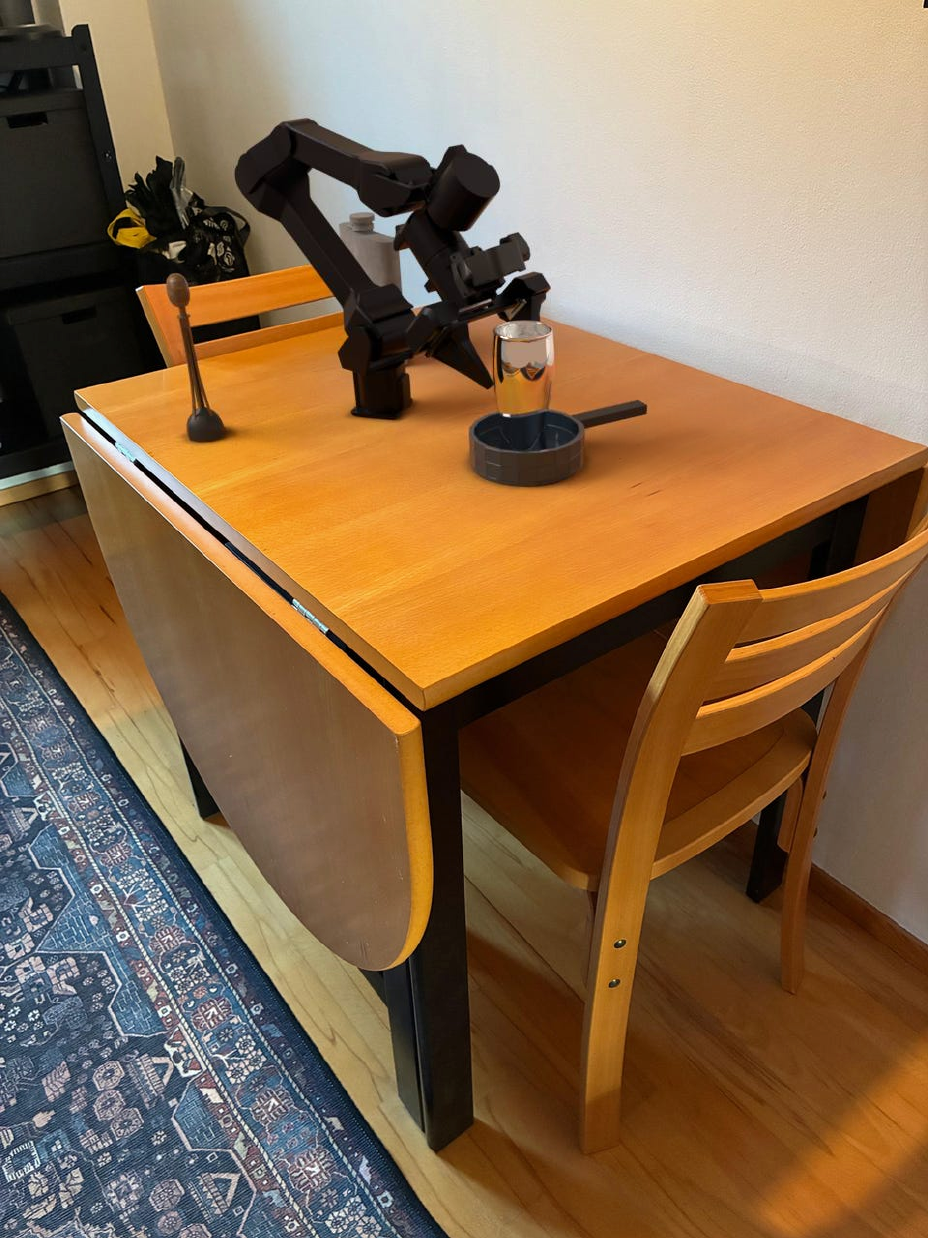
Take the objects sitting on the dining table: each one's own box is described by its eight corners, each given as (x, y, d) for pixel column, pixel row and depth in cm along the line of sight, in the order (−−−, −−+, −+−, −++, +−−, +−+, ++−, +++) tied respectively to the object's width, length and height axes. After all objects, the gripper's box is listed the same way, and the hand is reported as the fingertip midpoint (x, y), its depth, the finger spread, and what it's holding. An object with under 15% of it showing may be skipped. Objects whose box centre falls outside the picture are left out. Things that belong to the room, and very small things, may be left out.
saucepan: (454, 478, 110) (453, 446, 108) (489, 433, 121) (489, 403, 118) (567, 492, 106) (568, 458, 104) (594, 444, 117) (595, 412, 114)
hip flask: (411, 364, 143) (401, 220, 132) (386, 369, 141) (373, 224, 130) (366, 336, 155) (353, 202, 143) (342, 341, 153) (328, 206, 142)
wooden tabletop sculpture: (183, 428, 126) (150, 269, 115) (219, 421, 127) (189, 264, 116) (192, 444, 121) (158, 280, 110) (228, 437, 123) (198, 275, 111)
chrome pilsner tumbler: (534, 474, 109) (535, 342, 101) (482, 462, 112) (478, 333, 104) (563, 451, 114) (566, 324, 106) (512, 440, 117) (511, 316, 109)
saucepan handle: (578, 430, 113) (578, 420, 113) (569, 424, 115) (569, 415, 114) (646, 414, 117) (647, 404, 116) (637, 408, 118) (637, 399, 118)
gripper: (416, 226, 97) (499, 358, 97) (539, 195, 108) (613, 314, 107) (371, 293, 106) (446, 413, 106) (489, 258, 117) (557, 367, 116)
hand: (519, 375), depth 108 cm, fingers open, 9 cm apart
